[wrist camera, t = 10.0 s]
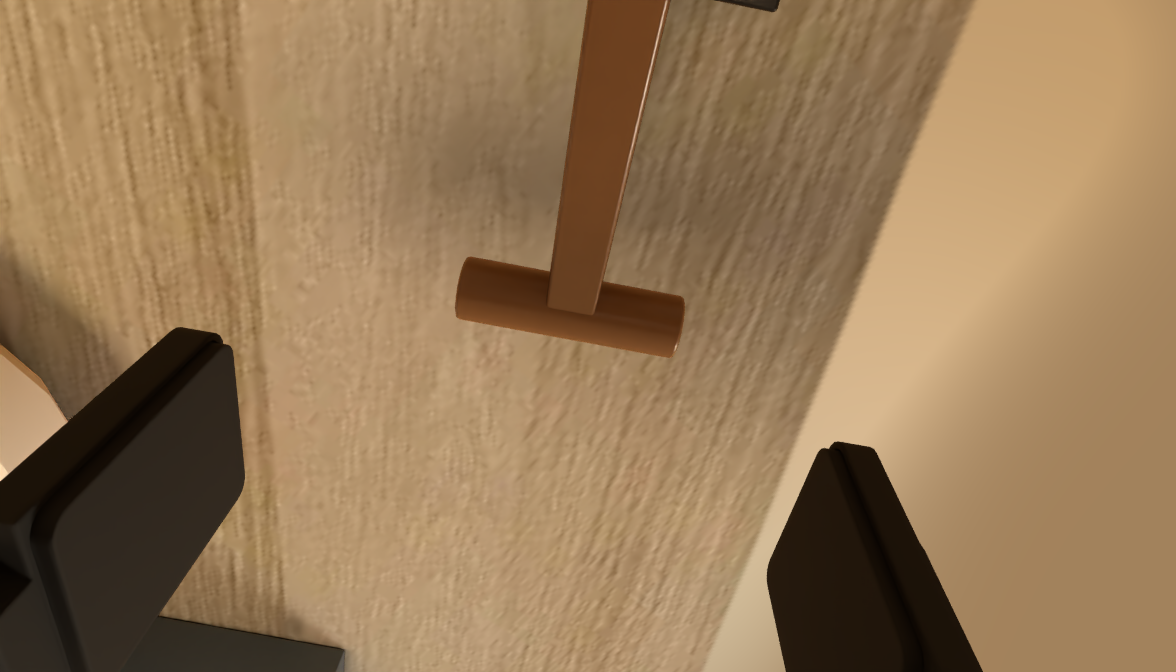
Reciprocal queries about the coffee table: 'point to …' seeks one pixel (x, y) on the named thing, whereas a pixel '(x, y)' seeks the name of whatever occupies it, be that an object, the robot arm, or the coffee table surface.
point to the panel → (225, 651)
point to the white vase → (23, 412)
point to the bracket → (756, 4)
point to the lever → (589, 205)
